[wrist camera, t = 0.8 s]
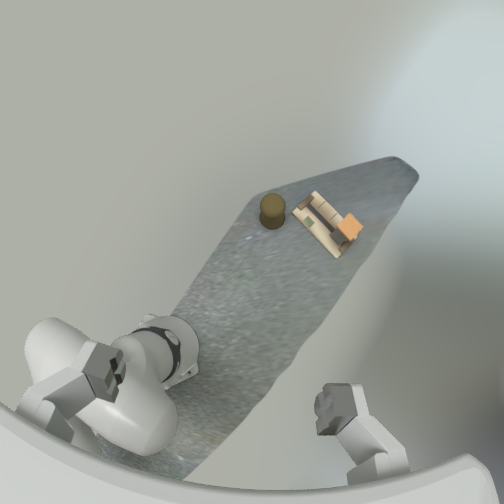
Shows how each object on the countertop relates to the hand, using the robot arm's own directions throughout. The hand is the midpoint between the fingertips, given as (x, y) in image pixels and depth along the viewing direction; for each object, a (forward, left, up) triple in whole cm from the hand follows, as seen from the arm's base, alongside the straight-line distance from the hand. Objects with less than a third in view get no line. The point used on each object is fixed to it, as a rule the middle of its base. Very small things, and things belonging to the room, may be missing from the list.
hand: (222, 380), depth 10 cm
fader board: (+24, +3, -54) cm, 59 cm away
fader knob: (+24, -1, -52) cm, 57 cm away
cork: (+16, +13, -54) cm, 58 cm away
